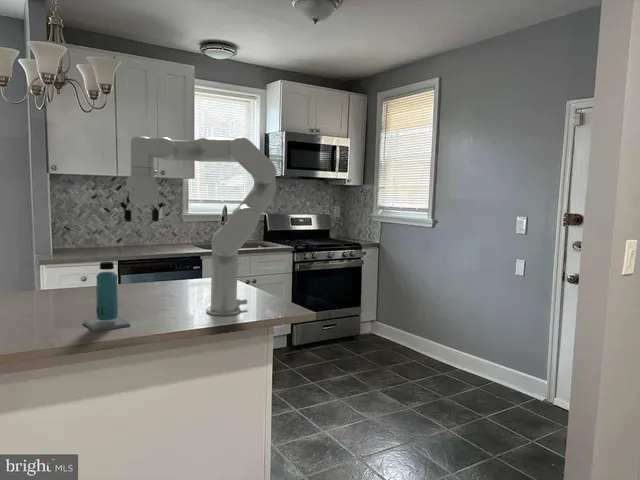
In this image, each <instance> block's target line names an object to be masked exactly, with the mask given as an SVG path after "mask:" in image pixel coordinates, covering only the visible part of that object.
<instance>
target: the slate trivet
mask: <svg viewBox="0 0 640 480" xmlns="http://www.w3.org/2000/svg"><path fill="white" fill-rule="evenodd" d="M82 324H83V325H85V326H86V327H87V328H89V329H90V330H91V331H93V332H94V333H98V332H103V331H109V330H111V331H112V330H117V329H121V328H127V327H131V323H130V322H128V321H126V320H124V319H123V318H121V317H120V316H117V318H116V319H113V320H98V319H91V320H85V321H84V320H83V322H82Z"/></svg>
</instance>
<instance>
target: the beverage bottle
mask: <svg viewBox="0 0 640 480" xmlns="http://www.w3.org/2000/svg"><path fill="white" fill-rule="evenodd" d="M113 269H115V267H114V262H113V261H101V262H100V264H99V270H106V271H101V272H99V273H98V274H97V275H96V276H95V278H96V289H95V290H96V304H95V305H96V307H95V308H96V309H95V310H96V316H95V317H96V318H97V319H98V320H113V319H116V318H117V316H118V315H119V310H118V308H119V307H118V275H117V274H116V273H115V272H113V271H109V270H113ZM107 270H108V271H107ZM118 317H119V316H118Z"/></svg>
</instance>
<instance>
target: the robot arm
mask: <svg viewBox="0 0 640 480" xmlns="http://www.w3.org/2000/svg"><path fill="white" fill-rule="evenodd" d="M154 158H157V159H161V160H163V161H170V162H171V161H184V162H186V161H187V162H189V161H192V162H193V161H194V162H204V163H205V162H208V163H209V162H211V163H213V162H214V163H220V162H221V163H238V164H239V165H240V166H241V167H242V168H243V169H244V170H246V172H247V173H249V174H250V175H251V178H252V179H253V186H252V188H251V190H250V191H249V192H248V194H247V195H246V197H245V198H244V199H243V200H242V201H241V202H240V204H239V205H238V206H236V208H234V210H233V211H232V213H231V216H230V217H229V218H228V219H227V221H226V222H225V223H224V225H222V227H221V228H219V229H217V230H216V231H215V232H214V233H213V235H212V238H211V276H210V278H211V281H210V283H211V285H210V306H208V307H206V313H207V314H208V315H212V316H221V317H222V316H234V315H237V314H239V313H241V307H240V306H242V305H248V299H247V298H245V299H241V298H237V297H238V296H237V295H238V270H239V269H238V266H239V261H238V260H239V259H238V258H239V256H238V255H239V250H241V248H242V246H243V245H245V243H246V242H247V241H248V239H249V238H250V237H251V236H252V234H253V233H254V231H256V229H257V227H258V225H259V223H260V222H259V219H260V217H261V216H262V214H263V213H264V212H265V211H266V209H267V208H268V207H269V206H270V204H271V202H272V201H273V199H274V197H275V194H276V191H277V181H276V177H277V174H278V173H277V172H278V171H277V167H276V165H275V163H274V162H273V161H272V159H270V158H269V157H268V156H267V155H265V154H264V152H262V151H261V150H260V149H259V148H258V147H257V146H256V145H255V144H254V143H253V142H252V141H251V140H250V139H248V138H247V137H245V136H237V137H234V138H229V137H226V138H224V137H200V138H198V139H191V140H185V139H184V140H179V139H171V138H169V137H164V136H162V137H159V136H158V137H147V136H139V135H138V136H133V137H131V139H130V175H127V181H126V184H125V185H126V186H125V193H123V194H120V195H118V196H117V197H116V201H117V203H118V205H119V206H120V207H121V208H122V209H123V210H124V215H123V216H124V219H125V222H128V223H129V222H131V221H132V210H131V209H132V207H133V206H134V205H135V206H151V207H152V208H153V209H152V211H151V212H152V217H151V219H152V220H151V221H153V222H158V221H159V218H160V212H159V211H161V209H162V208H163V206H164V204H165V203H166V201H167V198H166V197H164V196H162V195H161V194H159V193H158V186H157V185H158V184H157V180H156V177H155V175H157V174H158V170H156V169H155V168H154V165H155V163H154V161H155V160H154ZM124 201H125V202H124ZM158 201H159V202H158Z"/></svg>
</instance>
